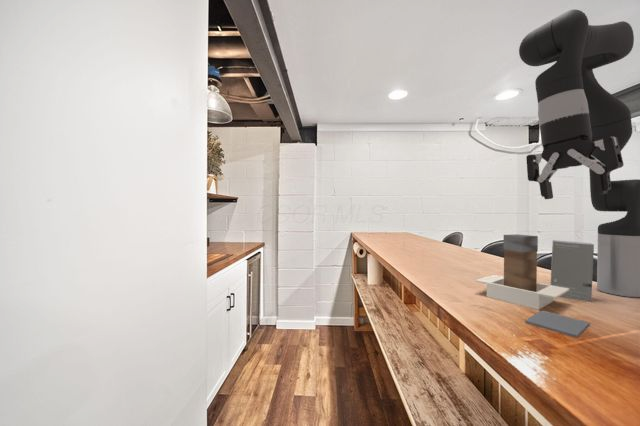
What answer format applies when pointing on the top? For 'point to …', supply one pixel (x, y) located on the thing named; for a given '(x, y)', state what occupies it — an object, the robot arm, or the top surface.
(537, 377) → the top surface
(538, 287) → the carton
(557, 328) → the mat
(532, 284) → the capped block
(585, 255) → the skincare box
